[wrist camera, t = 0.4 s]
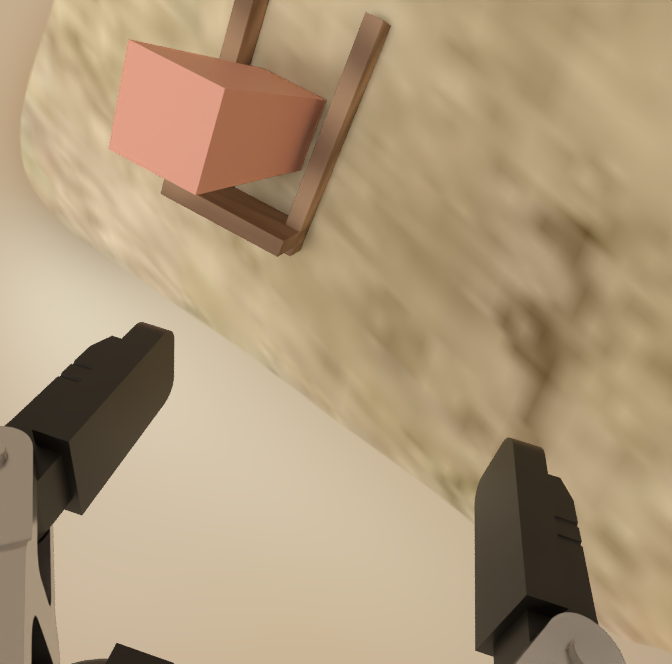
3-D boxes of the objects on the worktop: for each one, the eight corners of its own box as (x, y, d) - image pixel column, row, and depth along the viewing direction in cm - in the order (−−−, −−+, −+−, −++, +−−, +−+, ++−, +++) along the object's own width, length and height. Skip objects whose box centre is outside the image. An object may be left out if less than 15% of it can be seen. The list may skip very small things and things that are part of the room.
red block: (263, 68, 34) (128, 39, 22) (326, 100, 34) (224, 88, 22) (241, 139, 37) (108, 148, 24) (300, 169, 36) (195, 195, 24)
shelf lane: (260, -36, 32) (222, -61, 28) (390, 26, 31) (371, 10, 27) (196, 195, 39) (158, 204, 35) (299, 250, 39) (273, 266, 34)
